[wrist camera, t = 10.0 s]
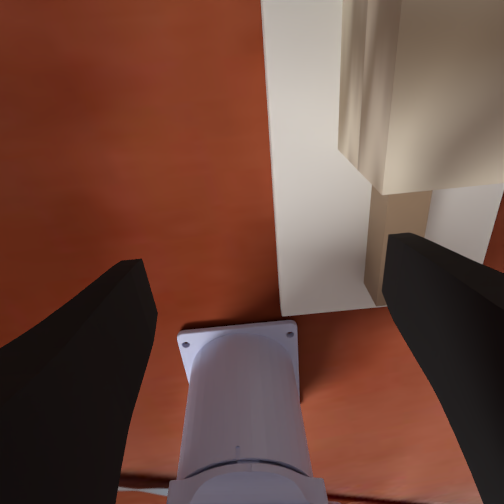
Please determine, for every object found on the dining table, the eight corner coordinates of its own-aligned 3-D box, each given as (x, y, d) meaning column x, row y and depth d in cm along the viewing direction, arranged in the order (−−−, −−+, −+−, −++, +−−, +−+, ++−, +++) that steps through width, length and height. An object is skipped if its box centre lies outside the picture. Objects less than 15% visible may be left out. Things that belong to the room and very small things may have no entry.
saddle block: (453, 137, 17) (548, 178, 12) (337, 149, 17) (381, 195, 12) (497, -85, 13) (668, -168, 8) (344, -69, 13) (415, -140, 8)
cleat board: (464, 288, 23) (516, 344, 19) (280, 306, 23) (290, 366, 19) (580, -154, 13) (752, -251, 9) (253, -118, 13) (262, -197, 9)
